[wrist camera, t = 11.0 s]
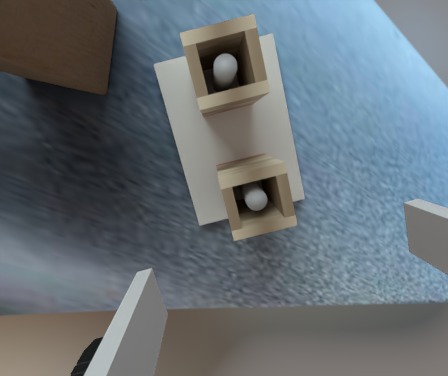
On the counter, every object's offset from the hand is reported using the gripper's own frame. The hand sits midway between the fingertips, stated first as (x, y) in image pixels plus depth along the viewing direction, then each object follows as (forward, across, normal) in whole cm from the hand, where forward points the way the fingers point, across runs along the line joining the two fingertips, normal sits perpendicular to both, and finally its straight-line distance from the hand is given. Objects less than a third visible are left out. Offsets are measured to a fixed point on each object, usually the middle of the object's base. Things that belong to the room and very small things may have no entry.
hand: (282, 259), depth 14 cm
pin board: (+23, +1, +6) cm, 24 cm away
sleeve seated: (+21, +1, +12) cm, 24 cm away
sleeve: (+21, +1, 0) cm, 21 cm away
